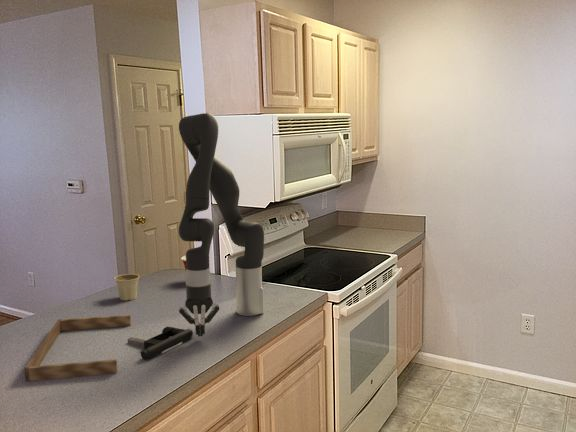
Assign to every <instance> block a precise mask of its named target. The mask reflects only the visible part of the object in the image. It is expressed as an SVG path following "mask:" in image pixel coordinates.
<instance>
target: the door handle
mask: <svg viewBox="0 0 576 432" xmlns="http://www.w3.org/2000/svg"><path fill="white" fill-rule="evenodd" d="M193 336H194V332H193V330H192V329H190V328H187V329H183V328H178V327H173V326H165V327H164V328H163V329H162V331H161V333H159V334H157V335H155V336H153V337H151V338H149V339H141V338H137V337H129V338H127V343H128V344H130V345H132V346H133V345H134V346H137V347H141V348H142V349H144V350H142V351H141V352H140V357H141V358H142V360H149V359H151V358H153V357H155V356H158V355H160V354H165V353H166V352H168V351H171V350H173V349H174V348H177V347H178V346H180V345H183V343H184V342H185V341H187V340H190V339H192V337H193Z"/></svg>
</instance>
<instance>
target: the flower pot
mask: <svg viewBox="0 0 576 432" xmlns="http://www.w3.org/2000/svg"><path fill="white" fill-rule="evenodd" d="M139 278H140V275H139V274H136V273H127V274H126V273H125V274H120V275H117V276H115V277H114V280H115V283H116V285H117V290H118V295H119V299H120V300H121V301H133V300H135V299H137V294H138V284H139Z"/></svg>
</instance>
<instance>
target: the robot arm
mask: <svg viewBox="0 0 576 432" xmlns="http://www.w3.org/2000/svg"><path fill="white" fill-rule="evenodd" d="M178 132H179V134H180V137H181V140H182V142H183V144H184V145H185V147H186V149H187V150H188V152H189V153H190V155H191V157H192V158H193V160H194V161H195V163H194V166H193V167H192V169H191V172H190V173H189V175H188V178H187V181H186V182H187V183H186V191H185V192H186V193H185V206H184V210H183V214H182V218H181V219H180V222H179V226H178V235H179V238H180V239H181V240H182V241H183V242H201V245H200V246H197V247H193V248H190V249H188V250H187V251H186V252H185V256H186V270H185V289H186V290H185V292H186V295H185V296H186V299H185V302H184V303H185V304H183V306H180V307H179V309H178V312H179V313H178V314H180V315H181V316H182V317H183V318H184V319H185V320H186V321H187V322H188V323H189V324H190V325H194V326H195V335H197V337H203V335H205V334H206V330H205V327H206V324H209V323H211V321H212V320H213V319H214V317H215V316H216V314H217V313H218V312H219V311H220V305H219V304H216V303H215V302H214V301H213V299H212V284H211V283H212V278H211V270H210V269H211V268H210V250H211V244H212V241H213V237H214V233H215V224H214V221H212V219H210V218H198V217H197V218H196V217H194V216H195V214H197V213H199V212H203V211H207V210H208V209H209V207H210V194H211V196H212V197H213V199H214V200H215V203H216V206H217V208H218V209H219V211H220V213H221V216H222V218H223V221H224V224H225V226H226V229H227V232H228V235H229V237H230V240H231V241H232V243H233V244H235V246H238V247H241V248H242V247H243V248H244V254H243V255H240V256H237V258H236V259H235V289H236V290H235V294H236V297H235V298H236V313H237V314H238V315H239V316H244V317H246V316H247V317H252V316H253V317H254V316H257V315H260V314H261V315H262V314H264V288H263V284H262V283H263V282H262V281H263V279H262V278H263V277H262V275H263V273H262V270H263V268H262V267H263V266H262V263H263V259H264V250H265V231H264V228H263V226H262V224H261V223H258V222H254V221H248V220H245V219H244V217H243V216H242V213H241V211H240V208H239V199H240V187H239V184H238V182H237V180H236V178H235V175H234V174H233V172H232V170H231V169H230V168H229V166H227V165H226V164H225V163H223V162H222V161H221V159H219V158H218V157H216V156H215V154H216V149H217V144H218V138H219V124H218V121H217V118H216V117H215V116H214V115H213V114H211V113H210V112H209V113H208V112H204V113H198V114H193V115H187V116H184V117H182V118H181V119H180V120H179V123H178ZM210 192H211V193H210ZM210 309H211V311H210ZM188 310H189V312H190V313H191V314H192V315H193V317H192V315H190V314H189V313H188ZM208 311H210V312H209V313H208ZM207 313H208V314H207ZM206 314H207V316H206ZM199 315H200V318H199Z"/></svg>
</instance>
